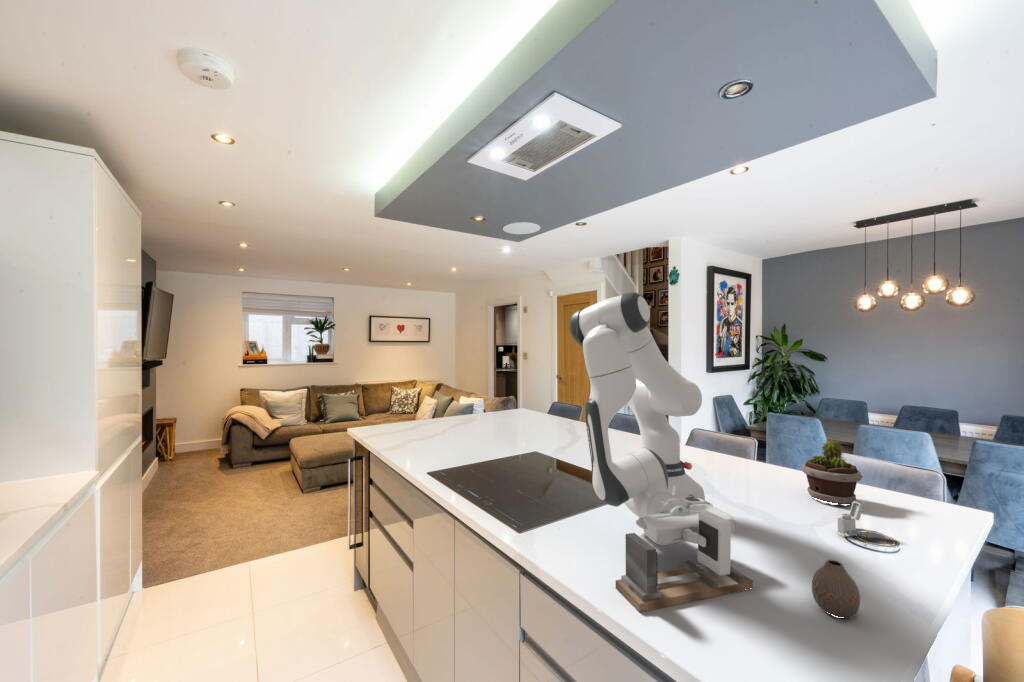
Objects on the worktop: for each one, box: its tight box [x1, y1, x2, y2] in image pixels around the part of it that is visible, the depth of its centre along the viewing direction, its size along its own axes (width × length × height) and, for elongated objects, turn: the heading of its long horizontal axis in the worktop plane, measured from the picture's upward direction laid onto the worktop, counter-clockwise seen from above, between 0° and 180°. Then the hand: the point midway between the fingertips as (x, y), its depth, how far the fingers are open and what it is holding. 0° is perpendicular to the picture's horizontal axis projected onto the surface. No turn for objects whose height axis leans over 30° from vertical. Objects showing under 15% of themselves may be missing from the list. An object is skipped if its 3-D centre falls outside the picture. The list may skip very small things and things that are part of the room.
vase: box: [811, 559, 861, 619], centre depth 74 cm, size 7×7×9 cm
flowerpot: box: [801, 437, 863, 505], centre depth 130 cm, size 14×15×20 cm
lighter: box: [837, 501, 864, 534], centre depth 106 cm, size 7×2×8 cm, turn 107°
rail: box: [615, 532, 754, 613], centre depth 81 cm, size 26×8×10 cm, turn 107°
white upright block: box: [697, 511, 732, 575], centre depth 83 cm, size 3×6×10 cm, turn 17°
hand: (716, 541), depth 83 cm, fingers closed on white upright block, 3 cm apart
